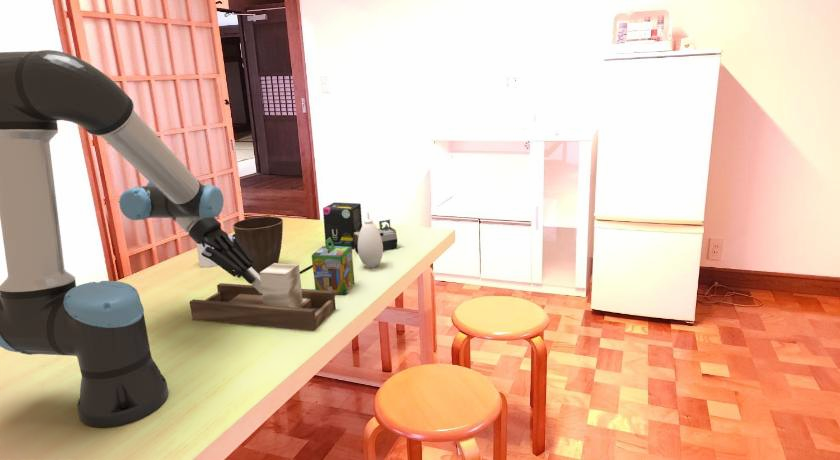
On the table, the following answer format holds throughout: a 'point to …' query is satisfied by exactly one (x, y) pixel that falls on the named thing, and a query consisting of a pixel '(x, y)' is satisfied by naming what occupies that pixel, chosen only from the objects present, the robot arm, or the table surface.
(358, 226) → the tampon box
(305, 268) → the pen
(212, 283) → the table surface
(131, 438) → the table surface
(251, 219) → the plant pot
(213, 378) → the table surface
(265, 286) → the cream block
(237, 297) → the tray
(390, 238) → the camera
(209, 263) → the candle
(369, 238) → the grey rubber bulb
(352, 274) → the chalk box
